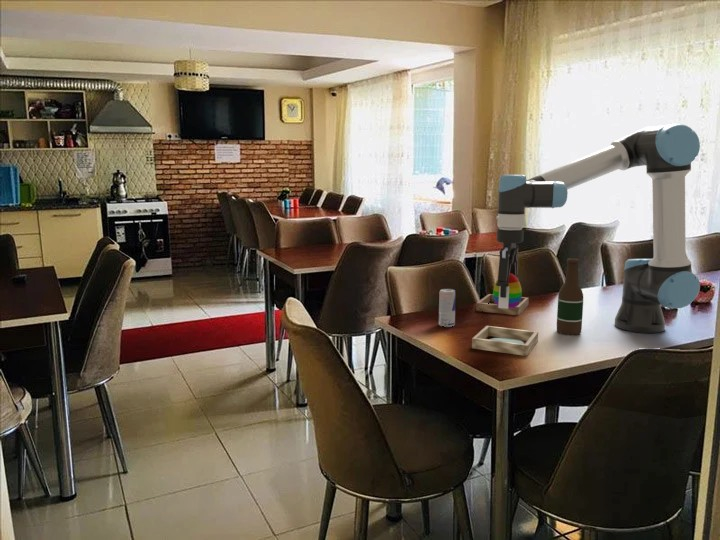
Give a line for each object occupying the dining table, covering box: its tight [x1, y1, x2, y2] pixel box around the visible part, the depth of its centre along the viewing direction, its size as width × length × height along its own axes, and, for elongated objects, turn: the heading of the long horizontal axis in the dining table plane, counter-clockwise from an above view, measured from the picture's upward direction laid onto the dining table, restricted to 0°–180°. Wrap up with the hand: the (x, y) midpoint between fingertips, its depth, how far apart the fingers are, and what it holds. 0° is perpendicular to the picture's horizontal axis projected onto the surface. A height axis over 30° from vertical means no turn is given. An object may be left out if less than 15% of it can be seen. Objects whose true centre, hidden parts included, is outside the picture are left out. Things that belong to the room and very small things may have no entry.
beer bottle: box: [556, 257, 584, 336], centre depth 189 cm, size 8×8×24 cm
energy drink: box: [438, 288, 456, 328], centre depth 199 cm, size 5×5×12 cm
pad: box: [488, 337, 525, 344], centre depth 178 cm, size 11×11×1 cm
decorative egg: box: [492, 273, 523, 308], centre depth 175 cm, size 8×8×10 cm
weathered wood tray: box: [475, 293, 530, 316], centre depth 224 cm, size 16×18×3 cm
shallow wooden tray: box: [471, 325, 539, 357], centre depth 177 cm, size 16×16×3 cm
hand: (506, 304), depth 176 cm, fingers closed on decorative egg, 8 cm apart
